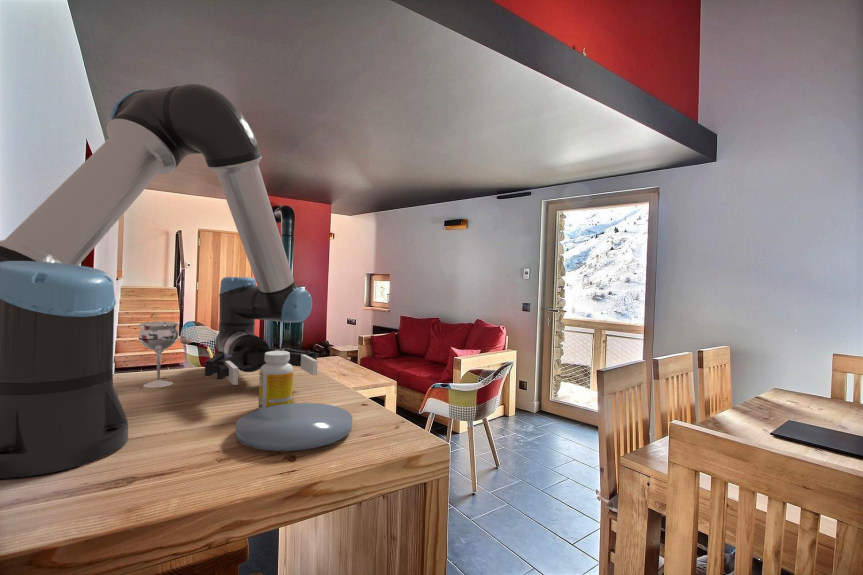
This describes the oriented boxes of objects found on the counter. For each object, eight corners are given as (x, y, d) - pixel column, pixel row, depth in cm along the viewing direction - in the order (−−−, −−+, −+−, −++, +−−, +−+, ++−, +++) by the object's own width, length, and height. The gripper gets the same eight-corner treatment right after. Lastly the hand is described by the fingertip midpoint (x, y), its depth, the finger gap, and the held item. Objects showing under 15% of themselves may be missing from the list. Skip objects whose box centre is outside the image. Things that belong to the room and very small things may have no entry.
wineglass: (157, 390, 81) (158, 327, 80) (128, 386, 82) (129, 324, 82) (186, 381, 87) (187, 323, 87) (158, 378, 89) (159, 321, 88)
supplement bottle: (251, 410, 71) (252, 353, 71) (275, 402, 76) (276, 348, 76) (276, 415, 69) (277, 357, 69) (298, 407, 74) (300, 351, 74)
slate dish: (276, 469, 51) (276, 452, 51) (214, 433, 61) (214, 419, 61) (374, 433, 63) (374, 419, 63) (309, 408, 73) (310, 397, 73)
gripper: (303, 363, 99) (343, 384, 82) (179, 375, 84) (196, 404, 67) (304, 331, 99) (344, 345, 82) (180, 337, 84) (197, 356, 67)
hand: (277, 372), depth 75 cm, fingers open, 13 cm apart
